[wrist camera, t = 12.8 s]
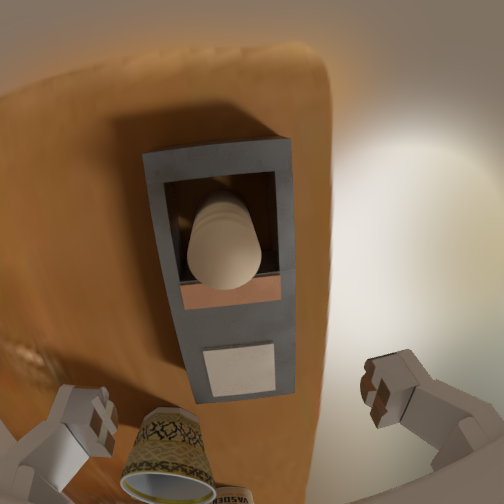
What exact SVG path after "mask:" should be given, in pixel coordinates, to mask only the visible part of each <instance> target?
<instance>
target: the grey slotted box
mask: <svg viewBox="0 0 504 504" xmlns="http://www.w3.org/2000/svg"><path fill="white" fill-rule="evenodd" d="M142 157H143V164H144V171H145V178H146V185H147V192H148V198H149V204H150V210H151V216H152V222H153V227H154V233H155V238H156V244H157V249H158V254H159V259H160V264H161V269H162V274H163V278H164V283H165V287H166V292H167V296H168V301H169V305H170V309H171V314H172V318H173V322H174V326H175V330H176V334H177V338H178V342H179V346H180V349H181V353H182V357H183V361H184V364H185V368H186V371H187V375H188V379H189V382H190V385H191V389H192V392H193V396H194V399H195V402H196V404H202V403H216V402H228V401H238V400H247V399H256V398H264V397H271V396H278V395H285V394H292V393H295V237H294V203H293V176H292V155H291V139H290V138H287V137H283V136H279V135H277V136H260V137H247V138H235V139H224V140H214V141H205V142H196V143H188V144H181V145H173V146H166V147H159V148H154V149H152V150H150V151H148V152H146V153H144V154H142ZM257 172H267V188H268V204H269V222H270V240H271V249H267V250H261V262H260V266H259V268H258V271H257V272H256V274H255V275H254V276H253V278H252V279H251V280H249V281H248V282H247V283H245V284H244V285H242V286H240V287H237V288H234V289H229V290H219V289H214V288H210V287H208V286H206V285H204V284H202V283H201V282H200V281H198V280H197V279H196V278H195V276H194V275H193V274H192V272H191V270H190V268H189V265H188V260H187V258H185V257H184V251H183V245H182V239H181V233H180V226H179V220H178V213H177V206H176V199H175V192H174V184H173V181H181V180H189V179H197V178H206V177H215V176H224V175H235V174H245V173H257Z"/></svg>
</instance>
